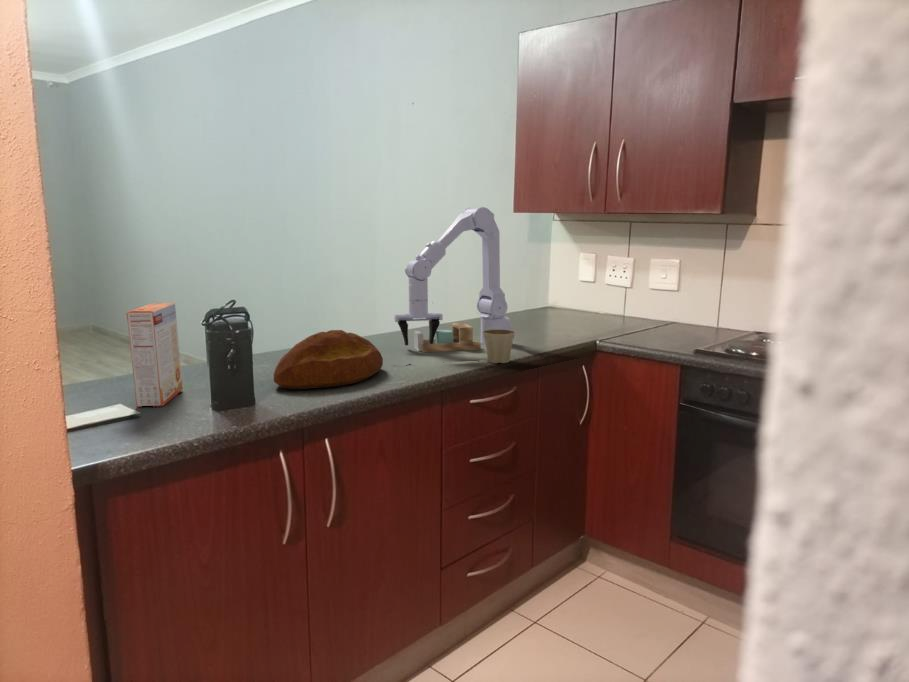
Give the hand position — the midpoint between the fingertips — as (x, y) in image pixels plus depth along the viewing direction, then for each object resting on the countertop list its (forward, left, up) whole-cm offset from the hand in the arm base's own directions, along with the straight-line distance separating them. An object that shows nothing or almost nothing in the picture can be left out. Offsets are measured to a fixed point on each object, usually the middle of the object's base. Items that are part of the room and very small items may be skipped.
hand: (418, 344), depth 201 cm
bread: (+28, +30, -3) cm, 41 cm away
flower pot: (-19, +20, -2) cm, 28 cm away
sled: (-5, 0, -2) cm, 5 cm away
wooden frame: (-9, 0, -2) cm, 9 cm away
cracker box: (+67, +40, -2) cm, 78 cm away
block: (-8, 0, -1) cm, 8 cm away
